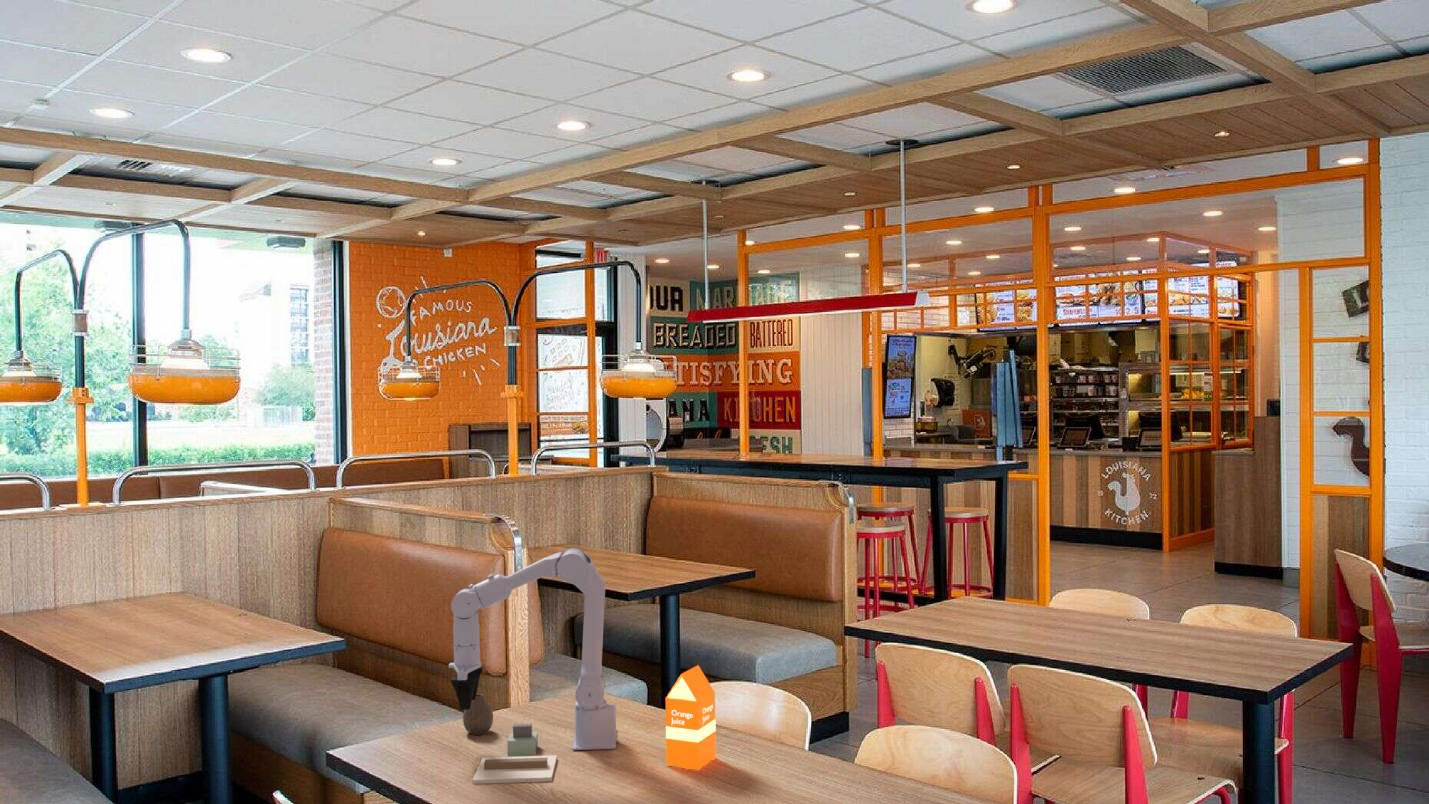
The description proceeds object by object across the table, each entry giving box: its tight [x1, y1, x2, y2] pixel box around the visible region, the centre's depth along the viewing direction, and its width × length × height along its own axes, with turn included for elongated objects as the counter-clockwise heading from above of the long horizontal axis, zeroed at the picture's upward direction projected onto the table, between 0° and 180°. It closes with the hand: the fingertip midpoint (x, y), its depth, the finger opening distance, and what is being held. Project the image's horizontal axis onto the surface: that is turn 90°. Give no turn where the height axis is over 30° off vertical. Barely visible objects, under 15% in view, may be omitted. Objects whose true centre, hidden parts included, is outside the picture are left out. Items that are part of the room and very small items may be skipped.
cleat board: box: [472, 754, 558, 785], centre depth 242 cm, size 16×14×2 cm
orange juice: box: [665, 664, 717, 771], centre depth 246 cm, size 8×9×20 cm
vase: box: [462, 693, 494, 736], centre depth 270 cm, size 7×7×9 cm
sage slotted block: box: [506, 723, 539, 757], centre depth 255 cm, size 6×6×6 cm
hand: (468, 704), depth 257 cm, fingers open, 7 cm apart
